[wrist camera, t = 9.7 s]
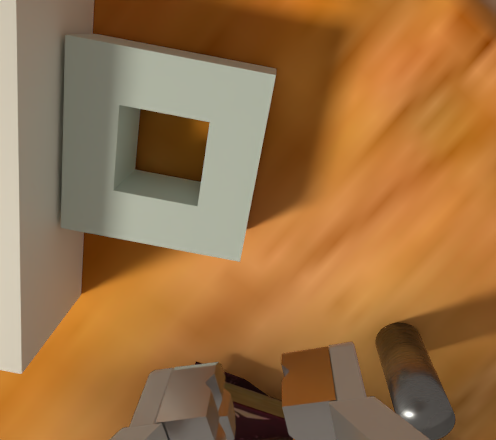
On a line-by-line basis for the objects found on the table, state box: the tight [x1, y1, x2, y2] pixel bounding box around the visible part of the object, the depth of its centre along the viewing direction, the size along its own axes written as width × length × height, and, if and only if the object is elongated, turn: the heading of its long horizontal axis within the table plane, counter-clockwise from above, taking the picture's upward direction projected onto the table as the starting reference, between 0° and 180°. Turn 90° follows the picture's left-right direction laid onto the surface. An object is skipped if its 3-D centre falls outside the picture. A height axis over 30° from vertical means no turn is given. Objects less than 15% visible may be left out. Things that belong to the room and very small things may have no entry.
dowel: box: [376, 323, 455, 440], centre depth 29 cm, size 3×3×7 cm
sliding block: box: [61, 34, 276, 262], centre depth 25 cm, size 10×10×4 cm
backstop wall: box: [0, 0, 94, 374], centre depth 24 cm, size 24×2×8 cm, turn 170°
